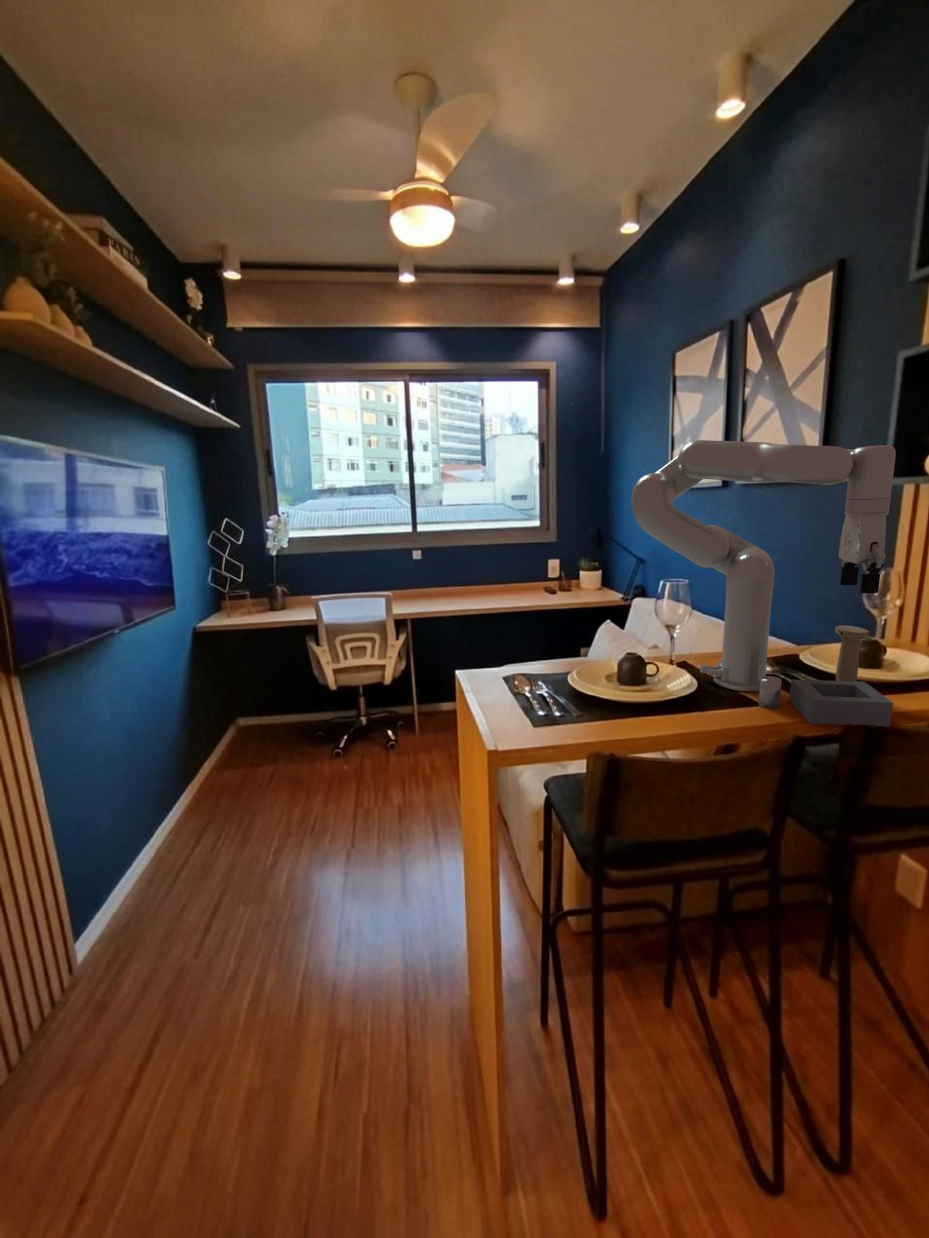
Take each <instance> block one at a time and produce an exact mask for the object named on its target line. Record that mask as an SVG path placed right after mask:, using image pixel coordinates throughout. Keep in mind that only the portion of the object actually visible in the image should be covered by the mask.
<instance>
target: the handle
mask: <svg viewBox="0 0 929 1238" xmlns="http://www.w3.org/2000/svg"><path fill="white" fill-rule="evenodd" d="M834 632H835V633H836V634H837V635H838V636H839V637H840V638H841V643H840V649H839V655H838V658H837V659H838V660H837V663H836V670H835V671H836V672H835V681H856V682H857V678H858V673H859V658H860V657H859V655H860V642H861V641H862V640H865V639H867V638H868V637H869V634H870V631H869V630H867V629H865V628H862V627H859V626H854V625H853V626H852V625H845V624H844V625H835V631H834Z"/></svg>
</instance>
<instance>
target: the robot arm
mask: <svg viewBox="0 0 929 1238" xmlns="http://www.w3.org/2000/svg"><path fill="white" fill-rule="evenodd" d="M679 451H680V452H679V454H678V455H677V456H676V457H674V458H673V459H672V460H671V461H669V462H668V463H666V464H665V465H664V466H663V467H661V468H660V469H658V470H657V471H656V472H652V473H648V474H645V475H642V477H639V479H637V482H636V483H635V485H634V486H633V490H632V493H631V510H632V513H633V516H634V518H635V520H636V522H637V524H638V525H639V526H640V528H641V529H642V530H643V531H645V533H647V534H648V536H650V537H652V538H654V539H655V540H657V541H659V542H660V543H662V544H663V545H665V546H667V547H668V548H669V549H671V550H673V551H674V552H676V553H678V554H679V555H682V556H683V557H685V559H688V561H689V560H690V562H693V563H694V565H697V566H699V567H702V568H709V569H710V568H713V570H716V571H717V572H719V573H721V574H723V575H724V576H726V585H725V586H726V587H725V589H726V590H725V607H724V624H723V638H722V657H721V660H718V662H717V663H715V664H714V665H709V664H700V668H699V669H700V670H699V671H700V674H701V673H702V674H707V675H708V676H713V682H714V683H715V684H716V685H718V686H721V687H722V688H725V689H728V690H734V691H741V692H759V690H760V678H761V677H763V676H766V673H767V672H766V671H767V660H768V648H769V635H770V626H771V625H770V624H771V613H772V612H771V608H772V600H773V593H774V592H773V591H774V585H775V567H774V563H773V561H772V558H771V556H770V555H769V554H768V552H766V551H765V550H763V549H762V548H760V547H759V546H757V545H755V544H753V543H751V542H750V541H747V540H745V539H744V538H742V537H740V536H738V535H736V534H735V533H733V532H731V530H730V531H729V530H727V529H725V527H721V526H719V525H716V524H715V525H714V524H708V525H707V524H705V523H703V522H701V521H699V520H697V519H695V518H694V517H692V516H691V515H688V514H687V513H685V512H683V511H681V510H680V509H678V508H676V507H675V506H674V505H672V502H674V501H675V500H676V499H678V498H679V497H680V496H682V495H684V494H685V493H687V492H688V491H689V490H690V489H692V488H693V487H695V486H696V485H698V484H699V483H700V482H701V481H702V480H715V481H729V482H730V481H733V482H745V483H765V482H766V483H768V482H769V483H771V482H777V483H792V484H793V483H795V484H809V485H822V486H832V485H836V484H839V483H842V482H847V488H846V497H845V498H846V499H845V509H844V516H845V517H844V521H843V524H842V530H841V535H840V542H839V547H838V548H839V549H838V557H839V559H841V564H840V566H841V568H840V569H841V571H840V578H839V579H840V581H839V584H840V585H841V586H856V585H857V584H858V579H859V570H860V569H859V566H858V565H859V564H860V563H861V565H862V570H863V573H861V577H860V586H859V587H860V588H859V593H861V594H878V593H879V589H880V581H881V574H882V572H883V568H884V565H885V564H884V563H885V560H886V557H887V554H886V553H885V548H886V536H887V535H886V534H887V533H886V532H887V531H886V530H887V518H886V517H887V515H889V514H890V504H891V500H892V499H891V496H892V488H893V480H894V472H895V464H896V463H895V462H896V454H897V453H896V449H895V447H894V446H892V445H889V444H887V445H886V444H883V445H882V444H881V445H867V446H859V447H856V448H854V449H853V448H850V449H849V448H846V449H845V448H844V447H841V446H836V445H835V446H834V445H833V446H832V445H808V444H807V445H806V444H803V445H802V444H784V443H783V444H781V443H780V444H779V443H771V442H762V441H761V442H760V441H759V442H758V441H757V442H756V441H737V440H736V441H734V440H731V441H730V440H713V439H712V440H710V439H709V440H706V439H698V440H692V441H689V442H687V443H686V444H684V445H683V446H682V448H681V449H680V450H679Z"/></svg>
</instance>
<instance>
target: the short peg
mask: <svg viewBox="0 0 929 1238" xmlns="http://www.w3.org/2000/svg"><path fill="white" fill-rule="evenodd" d="M781 693H782V679H781V678H779V677H777V676H771V675H770V676H769V675H768V676H767V675H765V676H763V677H761V678H760V690H759V691H758V701H757V702H758V706H759V707H760V708H763V709H768V710H778V709H779V708H780V704H781V703H780V702H781Z"/></svg>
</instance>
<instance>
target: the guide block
mask: <svg viewBox="0 0 929 1238" xmlns="http://www.w3.org/2000/svg"><path fill="white" fill-rule="evenodd" d="M789 702H790V704H791V705H793V707H794V708H795V709H796V710H797V712H799V714H800V715H802V717H803V718H804V719H805V720H806V721H807V722H808V723H809V724H811V725H816V724H817V725H834V726H835V725H837V726H848V725H847V724H865V725H876V726H875V727H878V726H884V727H883V728H890V727H891V723H892V722H891V721H892V720H891V719H892V716H893V715H892V714H893V706H894V702H893V701H891V700H890V699H889V698H887V697H886V696H884V695H883V694H882V693H881V692H879V691H878V690H877V689H875V688H874V687H872V686H871V685H870V684H868V683H867V682H866V681H857V680H856V681H836V680H820V679H818V680H816V679H815V680H814V679H812V680H811V679H791V681H790V693H789Z"/></svg>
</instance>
